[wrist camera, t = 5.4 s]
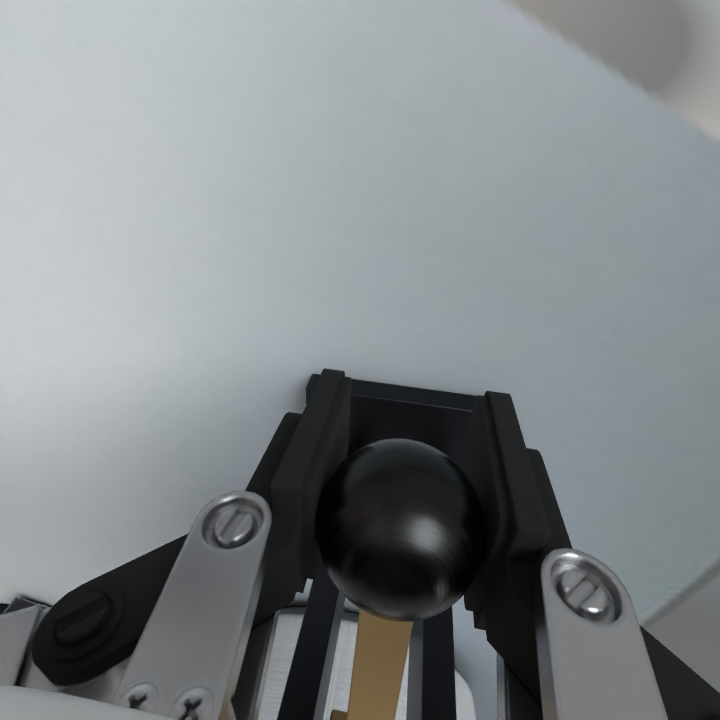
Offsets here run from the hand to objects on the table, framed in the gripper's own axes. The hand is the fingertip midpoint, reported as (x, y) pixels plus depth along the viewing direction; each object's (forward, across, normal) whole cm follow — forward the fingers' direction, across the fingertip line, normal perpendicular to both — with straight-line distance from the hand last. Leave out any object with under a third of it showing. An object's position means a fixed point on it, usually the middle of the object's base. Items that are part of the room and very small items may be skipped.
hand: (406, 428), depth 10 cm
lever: (-2, 0, +5) cm, 5 cm away
